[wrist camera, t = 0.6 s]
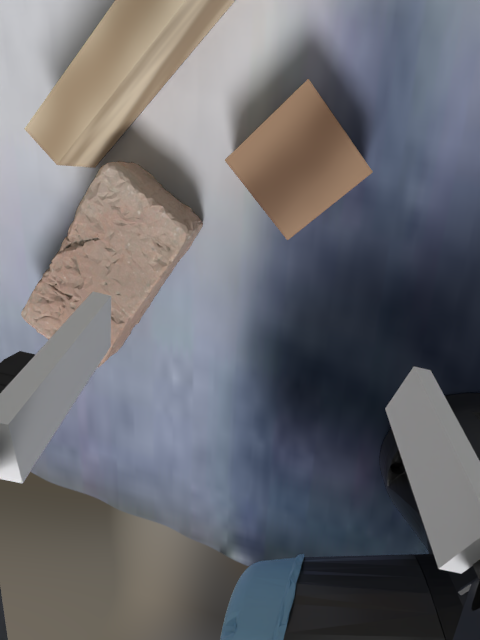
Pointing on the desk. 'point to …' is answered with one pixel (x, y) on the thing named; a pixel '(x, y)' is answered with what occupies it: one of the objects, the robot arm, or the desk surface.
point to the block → (298, 161)
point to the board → (119, 75)
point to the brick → (115, 251)
